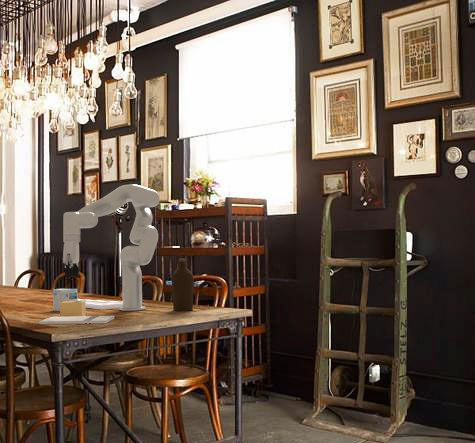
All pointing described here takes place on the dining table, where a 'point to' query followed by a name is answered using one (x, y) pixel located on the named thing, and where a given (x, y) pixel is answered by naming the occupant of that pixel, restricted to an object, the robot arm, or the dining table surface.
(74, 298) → the light bulb box
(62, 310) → the tan rectangular block
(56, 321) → the white flat panel
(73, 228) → the robot arm
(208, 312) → the dining table surface
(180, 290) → the olive oil
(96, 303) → the holder
